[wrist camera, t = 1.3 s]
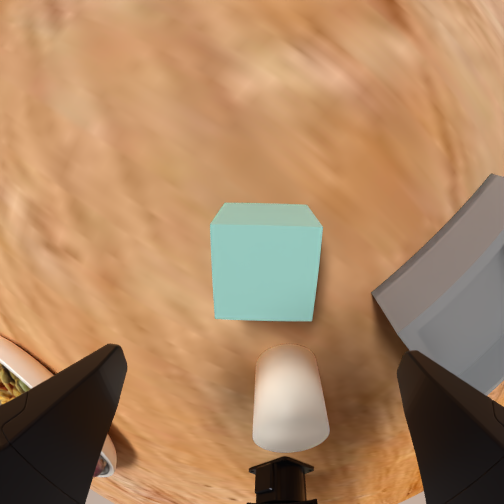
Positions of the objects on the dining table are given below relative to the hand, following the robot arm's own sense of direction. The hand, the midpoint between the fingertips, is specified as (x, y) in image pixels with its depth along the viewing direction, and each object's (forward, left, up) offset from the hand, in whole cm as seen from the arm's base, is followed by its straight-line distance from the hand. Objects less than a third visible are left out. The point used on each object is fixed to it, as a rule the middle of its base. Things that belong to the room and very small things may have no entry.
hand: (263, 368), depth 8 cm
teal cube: (0, 0, -11) cm, 11 cm away
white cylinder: (-9, +6, -11) cm, 15 cm away
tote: (-17, -10, -11) cm, 22 cm away
